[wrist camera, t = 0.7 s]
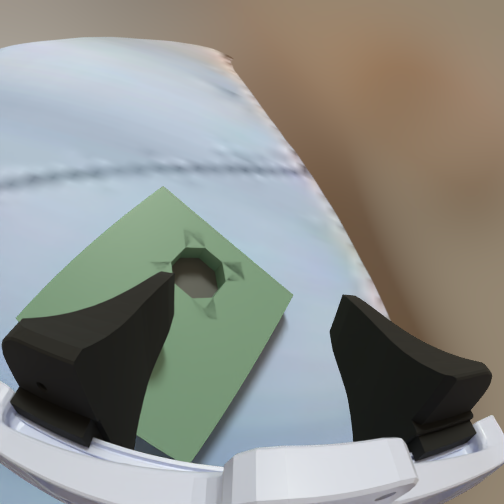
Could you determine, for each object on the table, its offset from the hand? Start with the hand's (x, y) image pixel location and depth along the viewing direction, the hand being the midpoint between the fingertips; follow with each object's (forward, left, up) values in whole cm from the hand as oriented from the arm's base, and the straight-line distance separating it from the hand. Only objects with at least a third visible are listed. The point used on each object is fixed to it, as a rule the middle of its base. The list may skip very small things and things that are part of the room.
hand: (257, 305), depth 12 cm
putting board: (+2, +3, -15) cm, 16 cm away
